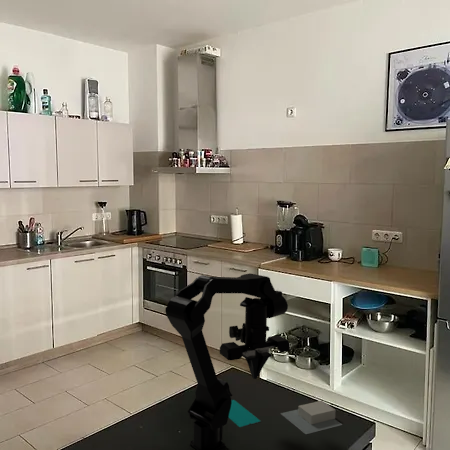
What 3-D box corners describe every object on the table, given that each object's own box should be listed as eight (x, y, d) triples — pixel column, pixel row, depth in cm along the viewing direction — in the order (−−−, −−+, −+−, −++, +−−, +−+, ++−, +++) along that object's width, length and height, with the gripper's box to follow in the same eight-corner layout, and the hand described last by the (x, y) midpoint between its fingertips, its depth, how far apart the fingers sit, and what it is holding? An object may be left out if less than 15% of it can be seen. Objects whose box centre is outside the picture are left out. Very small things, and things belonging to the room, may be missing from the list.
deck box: (311, 415, 123) (335, 409, 126) (298, 405, 128) (321, 400, 132) (311, 424, 123) (335, 418, 126) (298, 414, 128) (321, 409, 132)
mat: (305, 435, 118) (305, 434, 118) (280, 414, 129) (280, 413, 129) (342, 426, 123) (342, 424, 123) (315, 406, 134) (315, 405, 134)
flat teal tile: (233, 398, 137) (262, 421, 124) (233, 401, 137) (262, 424, 124) (212, 404, 134) (238, 427, 121) (212, 407, 134) (238, 431, 121)
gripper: (270, 310, 134) (268, 362, 135) (211, 317, 126) (210, 372, 127) (291, 320, 124) (290, 377, 125) (229, 328, 116) (228, 388, 117)
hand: (254, 378), depth 124 cm, fingers closed
